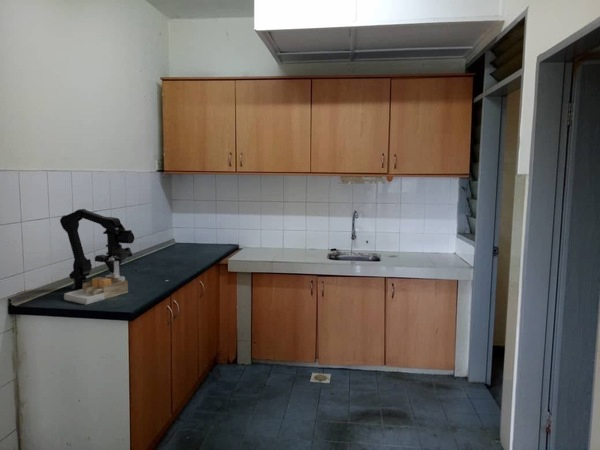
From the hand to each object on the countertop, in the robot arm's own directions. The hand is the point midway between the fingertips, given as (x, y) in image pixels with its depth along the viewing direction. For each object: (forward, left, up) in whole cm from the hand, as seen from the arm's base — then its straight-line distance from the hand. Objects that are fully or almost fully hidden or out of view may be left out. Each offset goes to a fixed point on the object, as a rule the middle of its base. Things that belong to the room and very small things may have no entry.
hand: (114, 272), depth 223 cm
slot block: (0, -6, -10) cm, 11 cm away
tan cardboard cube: (+3, -8, -6) cm, 10 cm away
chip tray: (0, -18, -10) cm, 20 cm away
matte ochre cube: (-2, -8, -6) cm, 10 cm away
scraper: (0, 0, -4) cm, 4 cm away
